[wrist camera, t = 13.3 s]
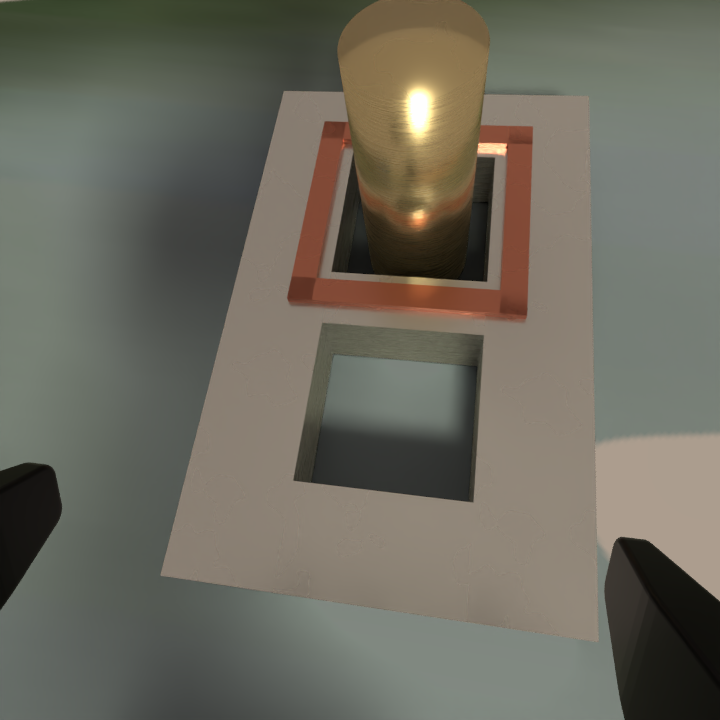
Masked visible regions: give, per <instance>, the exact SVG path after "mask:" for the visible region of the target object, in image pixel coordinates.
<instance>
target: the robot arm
mask: <svg viewBox="0 0 720 720" xmlns="http://www.w3.org/2000/svg"><path fill="white" fill-rule="evenodd" d="M61 512H62V503H61V498H60V493H59V488H58V483H57V478H56V474H55V471H54V469H53V468H52V467H51V466H49V465H46V464H38V463H23V464H20V465H17V466H14V467H11V468H8V469H5V470H2V471H0V610H1V608H2V607H3V606H4V604H5V603H6V602H7V600H8V599H9V597H10V596H11V594H12V593H13V591H14V590H15V588H16V587H17V585H18V584H19V582H20V581H21V579H22V578H23V576H24V574H25V573H26V571H27V570H28V568H29V567H30V565H31V563H32V562H33V560H34V559H35V557H36V556H37V554H38V552H39V551H40V549H41V548H42V546H43V545H44V543H45V541H46V540H47V538H48V537H49V535H50V534H51V532H52V531H53V529H54V527H55V526H56V524H57V523H58V521H59V519H60V516H61ZM604 592H605V603H606V609H607V616H608V623H609V630H610V636H611V643H612V650H613V657H614V663H615V670H616V677H617V684H618V690H619V696H620V701H621V706H622V710H623V714H624V718H625V720H720V601H719V600H718V599H716V598H715V597H714V596H713V595H712V594H710V593H709V592H708V591H707V590H706V589H705V588H703V587H702V586H701V585H700V584H698V583H697V582H696V581H695V580H694V579H693V578H692V577H690V576H689V575H688V574H687V573H686V572H685V571H683V570H682V569H681V568H680V567H679V566H678V565H676V564H675V563H674V562H673V561H672V560H670V559H669V558H668V557H667V556H666V555H665V554H663V553H662V552H661V551H660V550H659V549H658V548H656V547H655V546H654V545H653V544H651V543H650V542H649V541H647V540H643V539H635V538H626V537H620V538H618V539H616V541H615V543H614V546H613V549H612V554H611V558H610V562H609V567H608V571H607V575H606V580H605V590H604Z"/></svg>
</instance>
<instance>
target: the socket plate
mask: <svg viewBox="0 0 720 720" xmlns="http://www.w3.org/2000/svg"><path fill="white" fill-rule="evenodd" d="M359 200H360V190H359V184H358V178H357V172H356V166H355V159H354V153H353V147H352V141H351V135H350V128H349V122H348V116H347V110H346V104H345V98H344V92H315V91H284V93H283V97H282V101H281V105H280V109H279V113H278V116H277V120H276V124H275V128H274V132H273V136H272V140H271V144H270V148H269V152H268V156H267V160H266V163H265V167H264V171H263V175H262V179H261V183H260V187H259V191H258V195H257V199H256V203H255V207H254V210H253V214H252V218H251V222H250V226H249V230H248V234H247V238H246V242H245V246H244V250H243V254H242V258H241V261H240V265H239V269H238V273H237V277H236V281H235V285H234V289H233V293H232V297H231V301H230V305H229V308H228V312H227V316H226V320H225V324H224V328H223V332H222V336H221V340H220V344H219V348H218V352H217V355H216V359H215V363H214V367H213V371H212V375H211V379H210V383H209V387H208V391H207V395H206V399H205V402H204V406H203V410H202V414H201V418H200V422H199V426H198V430H197V434H196V438H195V442H194V446H193V449H192V453H191V457H190V461H189V465H188V469H187V473H186V477H185V481H184V485H183V489H182V493H181V496H180V500H179V504H178V508H177V512H176V516H175V520H174V524H173V528H172V532H171V536H170V540H169V543H168V547H167V551H166V555H165V559H164V563H163V567H162V571H161V575H160V576H167V577H173V578H180V579H187V580H193V581H200V582H206V583H213V584H219V585H226V586H233V587H239V588H246V589H252V590H259V591H266V592H272V593H279V594H285V595H292V596H298V597H305V598H312V599H318V600H325V601H331V602H338V603H344V604H351V605H358V606H364V607H371V608H377V609H384V610H391V611H397V612H404V613H410V614H417V615H423V616H430V617H437V618H443V619H450V620H456V621H463V622H469V623H476V624H483V625H489V626H496V627H502V628H509V629H516V630H522V631H529V632H535V633H542V634H548V635H555V636H562V637H568V638H575V639H581V640H588V641H594V642H598V585H597V529H596V476H595V475H596V474H595V473H596V472H595V415H594V359H593V302H592V246H591V189H590V132H589V96H550V95H491V94H484V100H483V109H482V118H481V127H480V136H479V145H478V155H477V164H476V173H475V182H474V191H473V200H472V202H488V214H487V229H486V244H485V260H484V275H483V282H479V281H464V280H448V279H433V278H417V277H402V276H386V275H371V274H356V273H347V271H348V265H349V259H350V253H351V247H352V241H353V236H354V230H355V224H356V218H357V212H358V206H359ZM333 354H341V355H353V356H365V357H376V358H388V359H399V360H411V361H422V362H434V363H446V364H457V365H469V366H477V381H476V396H475V412H474V427H473V442H472V457H471V472H470V488H469V502H464V501H456V500H448V499H439V498H431V497H423V496H415V495H406V494H398V493H390V492H382V491H373V490H365V489H357V488H349V487H340V486H332V485H324V484H316V483H311V481H312V475H313V470H314V464H315V458H316V452H317V446H318V440H319V435H320V429H321V423H322V417H323V411H324V405H325V399H326V394H327V388H328V382H329V376H330V370H331V364H332V358H333Z"/></svg>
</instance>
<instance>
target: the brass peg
mask: <svg viewBox="0 0 720 720" xmlns="http://www.w3.org/2000/svg"><path fill="white" fill-rule="evenodd" d="M489 45H490V37H489V31H488V28H487V25H486V24H485V22H484V20H483V18H482V17H481V16H480V15H479V13H477V12H476V11H475V10H474V9H473V8H472V7H470V6H469V5H467V4H466V3H464V2H462V1H460V0H380V1H377V2H375V3H373V4H371V5H369V6H368V7H366V8H365V9H363V10H362V11H360V12H359V13H358V14H357V15H355V16H354V17H353V18H352V19H351V20H350V22H349V23H348V24H347V25H346V27H345V28H344V30H343V32H342V34H341V36H340V39H339V43H338V53H337V54H338V60H339V67H340V73H341V79H342V85H343V91H344V98H345V104H346V110H347V116H348V122H349V128H350V135H351V141H352V147H353V153H354V159H355V166H356V172H357V178H358V184H359V190H360V197H361V203H362V209H363V215H364V221H365V228H366V234H367V240H368V246H369V252H370V258H371V265H372V268H373V271H374V273H375V275H386V276H402V277H417V278H433V279H448V280H457V279H458V278H459V276H460V275H461V273H462V271H463V269H464V266H465V262H466V254H467V245H468V236H469V227H470V218H471V209H472V200H473V191H474V182H475V173H476V164H477V155H478V145H479V136H480V127H481V118H482V109H483V100H484V91H485V82H486V73H487V64H488V55H489Z"/></svg>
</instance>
